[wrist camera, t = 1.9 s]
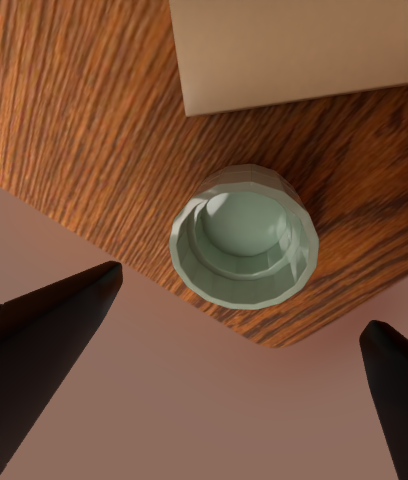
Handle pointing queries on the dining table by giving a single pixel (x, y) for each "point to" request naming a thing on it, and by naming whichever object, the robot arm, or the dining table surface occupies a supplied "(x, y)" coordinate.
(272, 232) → the bowl
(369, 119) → the dining table surface
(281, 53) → the plate
